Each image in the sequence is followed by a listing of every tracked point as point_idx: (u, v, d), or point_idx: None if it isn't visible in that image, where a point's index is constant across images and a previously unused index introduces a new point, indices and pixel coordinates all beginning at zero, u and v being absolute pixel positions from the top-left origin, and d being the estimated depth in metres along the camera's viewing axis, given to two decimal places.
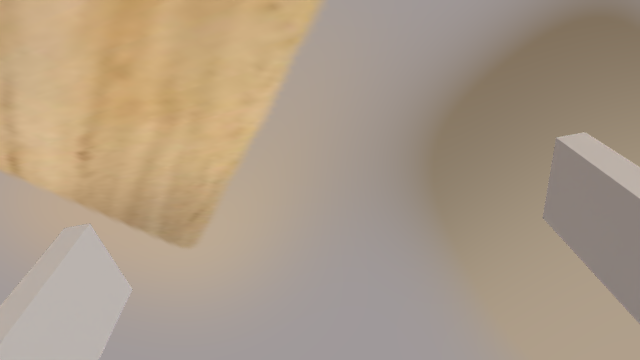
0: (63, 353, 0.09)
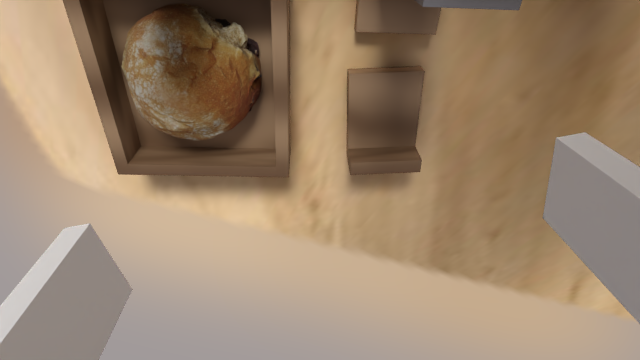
0: (63, 353, 0.09)
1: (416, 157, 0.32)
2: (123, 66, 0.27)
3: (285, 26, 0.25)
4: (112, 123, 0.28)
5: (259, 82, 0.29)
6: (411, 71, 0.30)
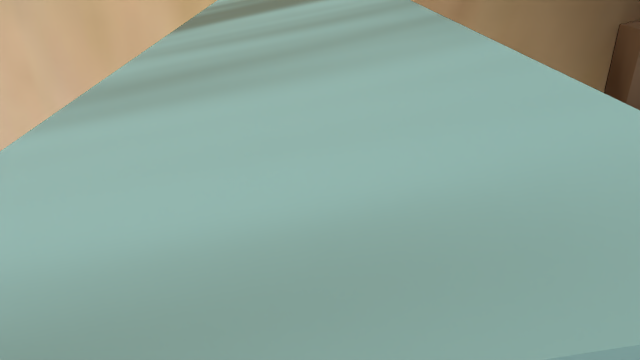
0: None
1: None
2: None
3: None
4: None
5: None
6: None
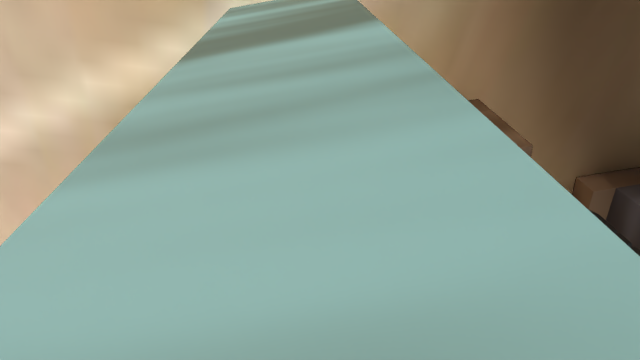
0: None
1: None
2: None
3: None
4: None
5: None
6: None
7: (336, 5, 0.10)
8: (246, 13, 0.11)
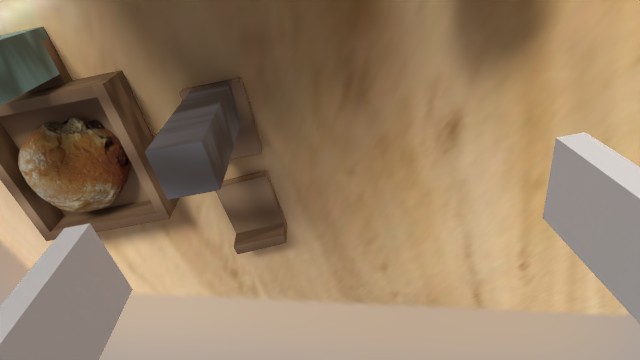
0: (63, 353, 0.09)
1: (280, 232, 0.44)
2: None
3: (117, 115, 0.34)
4: (28, 206, 0.39)
5: (116, 144, 0.38)
6: (256, 178, 0.42)
7: (10, 35, 0.31)
8: None
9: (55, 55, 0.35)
